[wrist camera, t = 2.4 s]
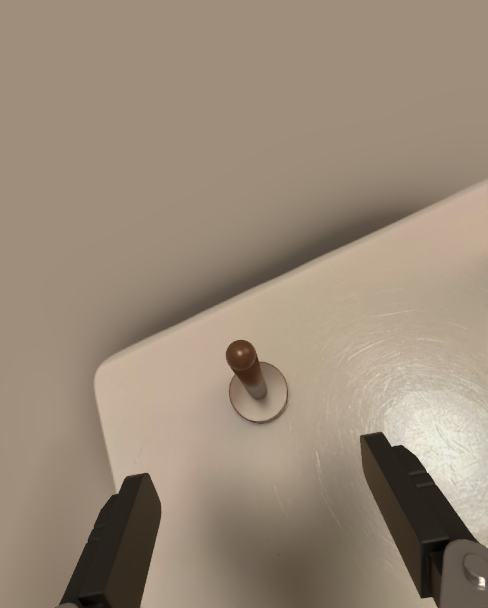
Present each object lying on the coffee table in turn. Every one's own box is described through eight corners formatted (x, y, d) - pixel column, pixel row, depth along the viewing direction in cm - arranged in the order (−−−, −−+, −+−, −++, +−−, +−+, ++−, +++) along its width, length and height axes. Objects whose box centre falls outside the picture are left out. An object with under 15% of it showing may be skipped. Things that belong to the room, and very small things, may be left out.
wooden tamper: (240, 430, 27) (198, 418, 14) (227, 375, 29) (181, 319, 16) (294, 414, 27) (306, 387, 14) (277, 361, 29) (273, 292, 16)
